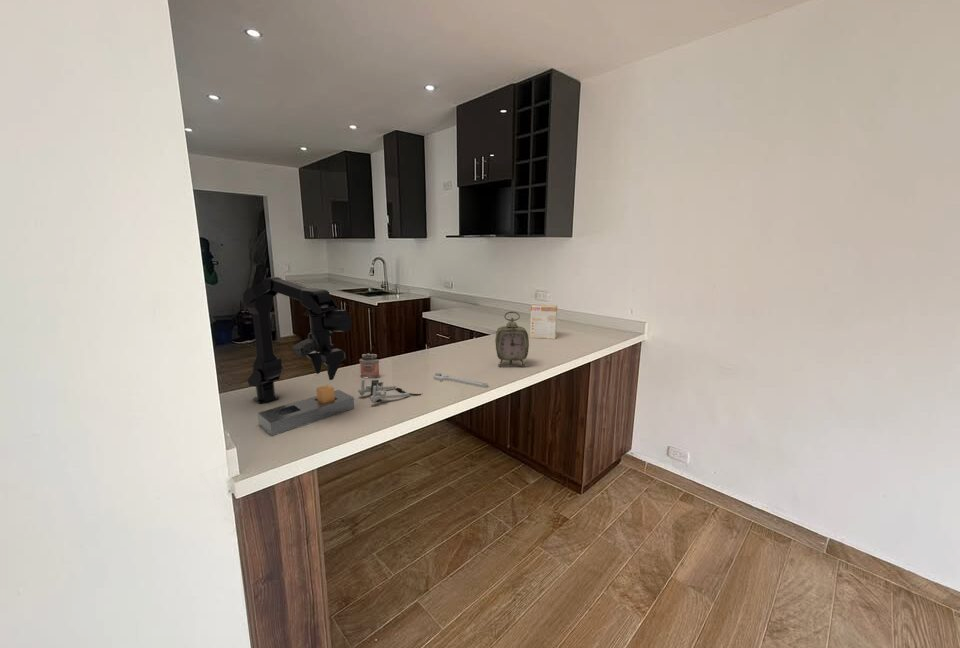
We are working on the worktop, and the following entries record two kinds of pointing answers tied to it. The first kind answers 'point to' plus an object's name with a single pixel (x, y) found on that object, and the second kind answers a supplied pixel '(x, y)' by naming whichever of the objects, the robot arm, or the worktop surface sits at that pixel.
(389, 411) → the worktop surface
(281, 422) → the block with square holes
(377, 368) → the red labelled jar
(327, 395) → the square peg
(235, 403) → the worktop surface
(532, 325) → the coffeecake box
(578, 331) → the worktop surface
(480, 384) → the adjustable wrench
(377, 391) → the bike brake
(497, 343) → the tabletop clock
